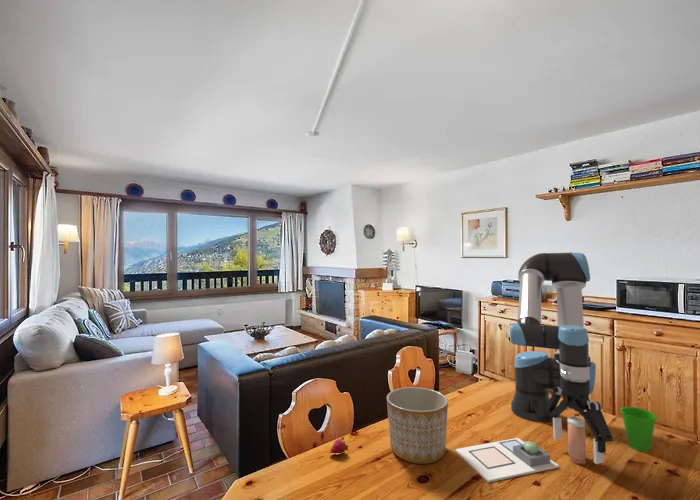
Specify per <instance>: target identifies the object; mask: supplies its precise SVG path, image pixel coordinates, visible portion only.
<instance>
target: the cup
mask: <svg viewBox="0 0 700 500" xmlns="http://www.w3.org/2000/svg"><path fill="white" fill-rule="evenodd" d="M619 411H620V412H621V415H622V420H623V425H624V429H625V432H626V433H625V434H626V439H627V442H628V445H629V447H630V448H632V449H633V450H636V451H637V452H638V451H639V452H644V453H645V452H646V453H647V452H650V450H651V446H652V441H653V440H652V439H653V435H654V429H655V424H656V423H655V422H656V420H657V419H658V416H657V415H656V414H655V413H653V412H652V411H649V410H646V409H645V408H644V409H643V408H640V407H634V406H622V407H620V409H619Z"/></svg>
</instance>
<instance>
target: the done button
mask: <svg viewBox="0 0 700 500" xmlns="http://www.w3.org/2000/svg"><path fill="white" fill-rule="evenodd" d="M538 447H539V445H538V444H537V443H536V442H534V441H530V440H527V441H524V452H526V453H527V454H529V455H531V456H532V455H537V454H538Z"/></svg>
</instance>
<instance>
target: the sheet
mask: <svg viewBox="0 0 700 500" xmlns="http://www.w3.org/2000/svg"><path fill="white" fill-rule="evenodd" d="M524 442H525V441H523V440H522V439H520V438H519V437H515V438H510V439H503V440H499V441H493V442H488V443H481V444H478V445H477V444H476V445H471V446H466V447H459V448H456V449H454V452H455V453H456V454H457V455H458V456H459V457H461V458H462V459H463V461H465V462H466V463H467V464H468V465H469V466H470V467H471V468H472V469H473V470H474V471H475V472H476V473H478V475H479V476H480V477H482V479H483V480H485V481H486V483H493V482H498V481H503V480H506V479H512V478H517V477H520V476H521V477H522V476H525V475H526V476H527V475H530V474H534V473H535V474H536V473H538V472H539V473H540V472H544V471H548V470H553V469H557V468H559V466H560V465H559V464H558V463H556V462H555V461H553V460H552V459H550V463H549V464H544V465H539V466H535V467H530V466H528V465H527V464H526V463H524V462H523V461H522V460H520V459H519V458H518V457H516V456H515V455H514V454H513V446H517V445H522V444H524ZM530 456H531V455H530Z"/></svg>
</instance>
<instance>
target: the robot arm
mask: <svg viewBox="0 0 700 500" xmlns="http://www.w3.org/2000/svg"><path fill="white" fill-rule="evenodd" d="M517 279H518V282H519V283H520V284H519V285H520V286H519V296H518V297H519V299H518V309H517V322H513V323H512V322H511V323H510V326H509V340H510V342H511V343H512V345H517V346H523V347H530V348H531V347H534V348H542V349H543V348H544V349H553V350H556V351H554V353H553V357H549V355H548V354H547V353H546V352H544V351H538V350H537V351H535V350H533V351H532V350H529V351H523V352H519V353H516V355H515V357H514V365H513V366H514V374H515V375H514V379H515V384H514V385H515V391H514V395H513V398H512V401H511V402H510V403H511V404H510V406H511V407H510V409H511V410H510V411H512V413H513V414H514V415H516V416H517V417H520V418H522V419H526V420H530V421H535V422H548V421H549V422H550V421H551V426H552V439H554V440H560V439H561V440H562V439H563V427H562V426H563V424H562V423H563V422H562V417H561V415H562V413H563V412H565V411H566V409H568V408H569V409H571V410H573V411H575V412H577V413H579V415H580V416H581V417H583V418H582V419H583V420H584V421H585V424H587V426H588V427H589V429H590V431H591V433H592V434H593V436H594V438H593V439H592V444H593V445H592V446H593V463H594V464H596V465H599V464H603V463H605V458H604V457H605V456H604V455H605V453H606V452H607V449H606V448H607V446H606V443H608V442H613V441H614V438H613V435H612V432H611V431H610V428H609V426H608V424H607V422H606V419H605V417H604V414H603V412H602V409H601V407H602V406H601V403H600V402H599V401H591V399H590V398H589V395H591V394H593V392H594V390H595V384H596V372H597V369H596V368H597V365H596V364H597V363H595V362H593V361H591V356H590V355H589V341H590V339H589V332H588V330H587V328H586V327H585V326H584V323H585V322H584V307H583V289H584V288H586V286H587V283H588V282H590V280H591V274H590V267H589V262H588V259H587V257H586V255H585V254H584V253H582V252H572V251H570V252H542V253H541V252H540V253H537V254H534V255H532V256H530V257H529V258H527V260H525V261H524V262H523V263H522V264H521V267H520V268H519V271H518V275H517ZM544 281H546V282H550V281H551V285H552V287H554V289H555V290H556V311H557V312H556V313H557V314H556V316H557V318H556V319H557V325H544V324H542V284H544ZM549 390H552V394H551V396H550V393H549V392H550V391H549ZM561 398H563V399H562V400H561ZM560 400H561V401H560Z"/></svg>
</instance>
